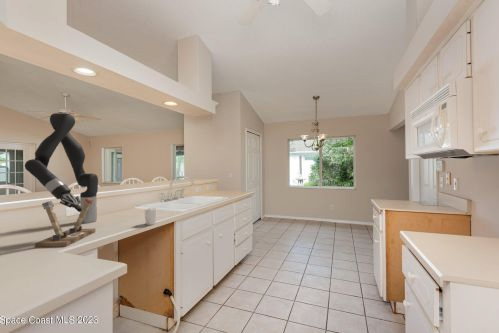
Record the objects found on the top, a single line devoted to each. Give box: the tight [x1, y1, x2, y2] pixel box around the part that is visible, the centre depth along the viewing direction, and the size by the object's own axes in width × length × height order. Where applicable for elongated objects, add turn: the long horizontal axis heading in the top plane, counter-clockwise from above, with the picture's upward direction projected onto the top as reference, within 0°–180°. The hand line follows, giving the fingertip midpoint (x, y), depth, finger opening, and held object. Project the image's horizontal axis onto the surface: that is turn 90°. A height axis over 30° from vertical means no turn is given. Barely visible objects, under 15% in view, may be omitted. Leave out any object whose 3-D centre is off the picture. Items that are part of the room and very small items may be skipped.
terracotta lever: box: [73, 198, 93, 230], centre depth 127 cm, size 3×3×19 cm
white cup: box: [144, 207, 158, 226], centre depth 153 cm, size 8×8×10 cm
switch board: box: [34, 225, 96, 248], centre depth 121 cm, size 24×14×4 cm, turn 6°
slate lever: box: [41, 200, 64, 237], centre depth 115 cm, size 3×3×19 cm
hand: (81, 210), depth 127 cm, fingers closed
